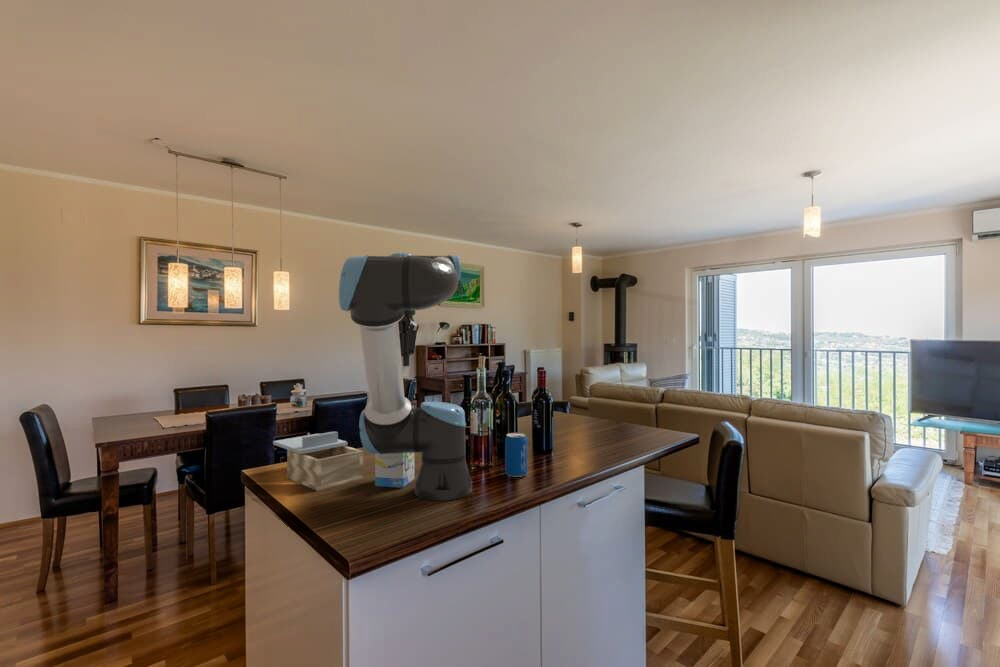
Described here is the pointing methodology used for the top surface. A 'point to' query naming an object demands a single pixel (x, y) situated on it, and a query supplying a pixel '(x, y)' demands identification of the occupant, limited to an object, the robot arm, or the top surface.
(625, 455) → the top surface
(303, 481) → the open wooden box
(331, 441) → the lid
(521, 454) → the beverage can
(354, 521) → the top surface
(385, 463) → the ink box
